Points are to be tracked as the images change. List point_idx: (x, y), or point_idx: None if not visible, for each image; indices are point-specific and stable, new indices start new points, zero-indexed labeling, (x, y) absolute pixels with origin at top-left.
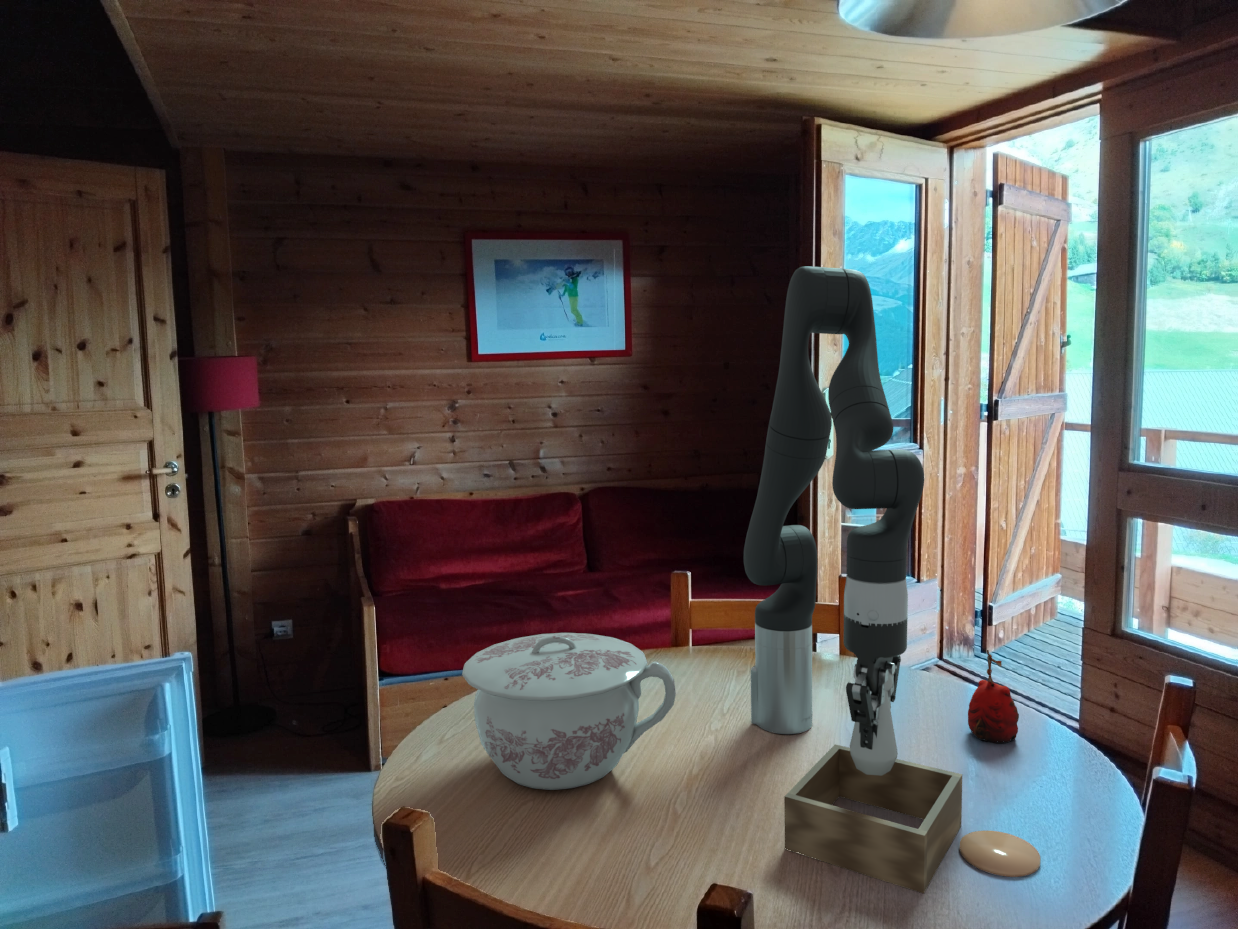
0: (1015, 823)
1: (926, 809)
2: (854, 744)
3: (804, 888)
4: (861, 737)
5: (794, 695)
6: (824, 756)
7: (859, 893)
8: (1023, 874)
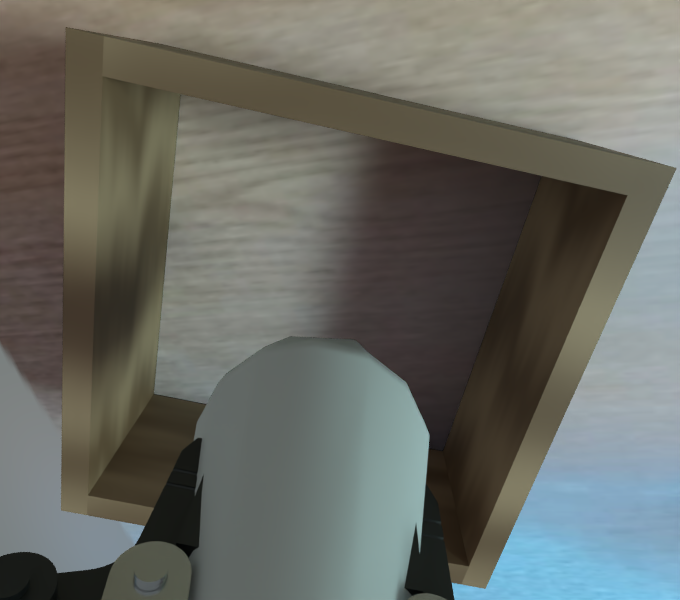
0: (498, 561)
1: (466, 418)
2: (231, 402)
3: (3, 144)
4: (167, 485)
5: None
6: (526, 140)
7: (60, 280)
8: None
